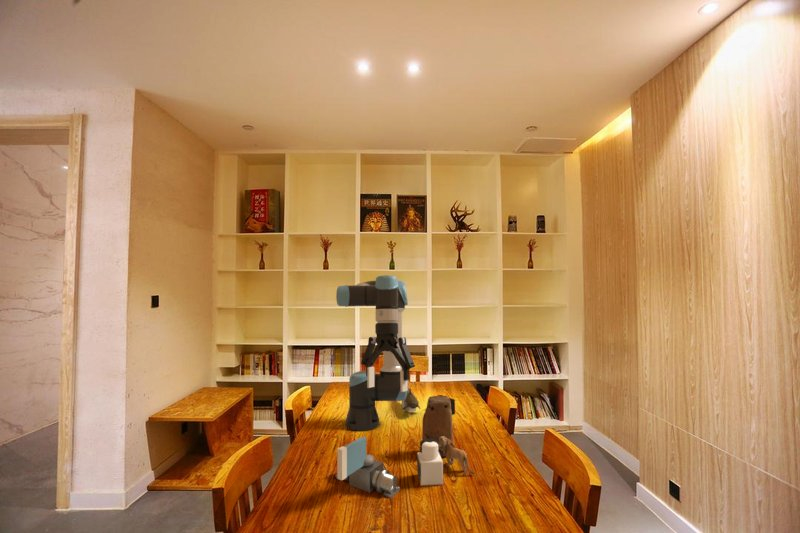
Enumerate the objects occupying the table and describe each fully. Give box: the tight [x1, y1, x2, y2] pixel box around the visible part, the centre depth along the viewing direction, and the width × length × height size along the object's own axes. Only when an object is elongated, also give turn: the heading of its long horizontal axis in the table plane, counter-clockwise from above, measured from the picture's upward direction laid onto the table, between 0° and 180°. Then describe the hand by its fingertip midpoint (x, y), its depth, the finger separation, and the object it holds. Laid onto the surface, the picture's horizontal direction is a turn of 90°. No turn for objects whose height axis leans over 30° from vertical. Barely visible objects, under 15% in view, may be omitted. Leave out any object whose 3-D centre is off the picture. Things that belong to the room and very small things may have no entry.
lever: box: [336, 436, 374, 481], centre depth 111 cm, size 14×4×8 cm, turn 147°
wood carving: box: [401, 387, 421, 412], centre depth 187 cm, size 9×35×11 cm, turn 11°
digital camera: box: [437, 394, 456, 416], centre depth 180 cm, size 10×5×7 cm, turn 35°
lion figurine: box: [439, 436, 475, 476], centre depth 124 cm, size 15×5×9 cm, turn 44°
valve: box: [334, 458, 401, 499], centre depth 114 cm, size 22×7×7 cm, turn 57°
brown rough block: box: [421, 395, 454, 458], centre depth 135 cm, size 11×8×20 cm
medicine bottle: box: [416, 438, 444, 487], centre depth 117 cm, size 7×7×12 cm
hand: (386, 389), depth 118 cm, fingers open, 13 cm apart
